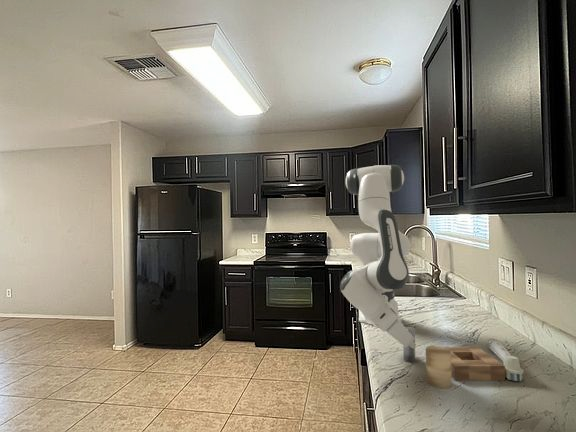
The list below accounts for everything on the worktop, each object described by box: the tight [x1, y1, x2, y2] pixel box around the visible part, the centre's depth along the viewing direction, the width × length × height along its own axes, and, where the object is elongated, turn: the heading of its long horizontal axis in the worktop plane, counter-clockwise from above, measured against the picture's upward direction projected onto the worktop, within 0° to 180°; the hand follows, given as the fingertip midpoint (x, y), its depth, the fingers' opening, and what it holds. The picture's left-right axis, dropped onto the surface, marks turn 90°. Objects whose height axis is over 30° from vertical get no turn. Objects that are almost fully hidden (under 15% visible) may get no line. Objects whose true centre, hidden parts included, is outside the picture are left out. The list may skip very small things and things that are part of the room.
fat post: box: [425, 345, 453, 389], centre depth 95 cm, size 6×6×9 cm
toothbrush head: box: [487, 338, 525, 382], centre depth 106 cm, size 5×7×25 cm
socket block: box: [444, 346, 506, 381], centre depth 103 cm, size 14×14×4 cm
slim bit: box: [402, 326, 416, 363], centre depth 110 cm, size 4×4×10 cm
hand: (411, 343), depth 110 cm, fingers closed on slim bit, 4 cm apart
